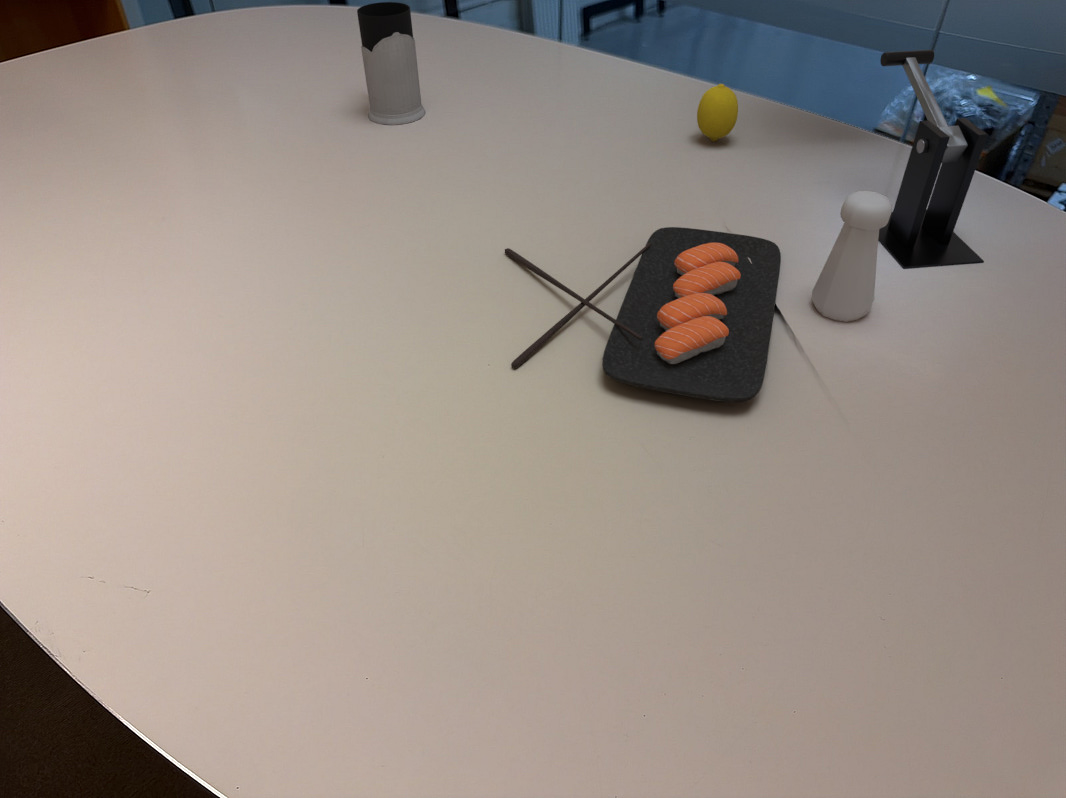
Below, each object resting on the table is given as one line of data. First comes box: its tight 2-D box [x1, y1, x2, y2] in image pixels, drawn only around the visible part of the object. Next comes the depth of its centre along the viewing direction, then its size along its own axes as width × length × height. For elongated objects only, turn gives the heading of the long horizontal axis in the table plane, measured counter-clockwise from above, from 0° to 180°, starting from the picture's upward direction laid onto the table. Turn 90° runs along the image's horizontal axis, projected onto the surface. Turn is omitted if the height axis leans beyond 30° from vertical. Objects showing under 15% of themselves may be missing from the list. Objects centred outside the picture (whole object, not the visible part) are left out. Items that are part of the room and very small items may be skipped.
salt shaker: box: [811, 190, 893, 323], centre depth 77 cm, size 6×6×13 cm
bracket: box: [878, 117, 988, 270], centre depth 87 cm, size 12×9×14 cm
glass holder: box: [356, 1, 426, 126], centre depth 122 cm, size 9×14×15 cm, turn 30°
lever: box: [879, 49, 968, 164], centre depth 87 cm, size 15×6×2 cm, turn 6°
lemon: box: [696, 83, 739, 142], centre depth 112 cm, size 6×6×8 cm
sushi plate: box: [504, 226, 782, 403], centre depth 82 cm, size 29×30×4 cm
